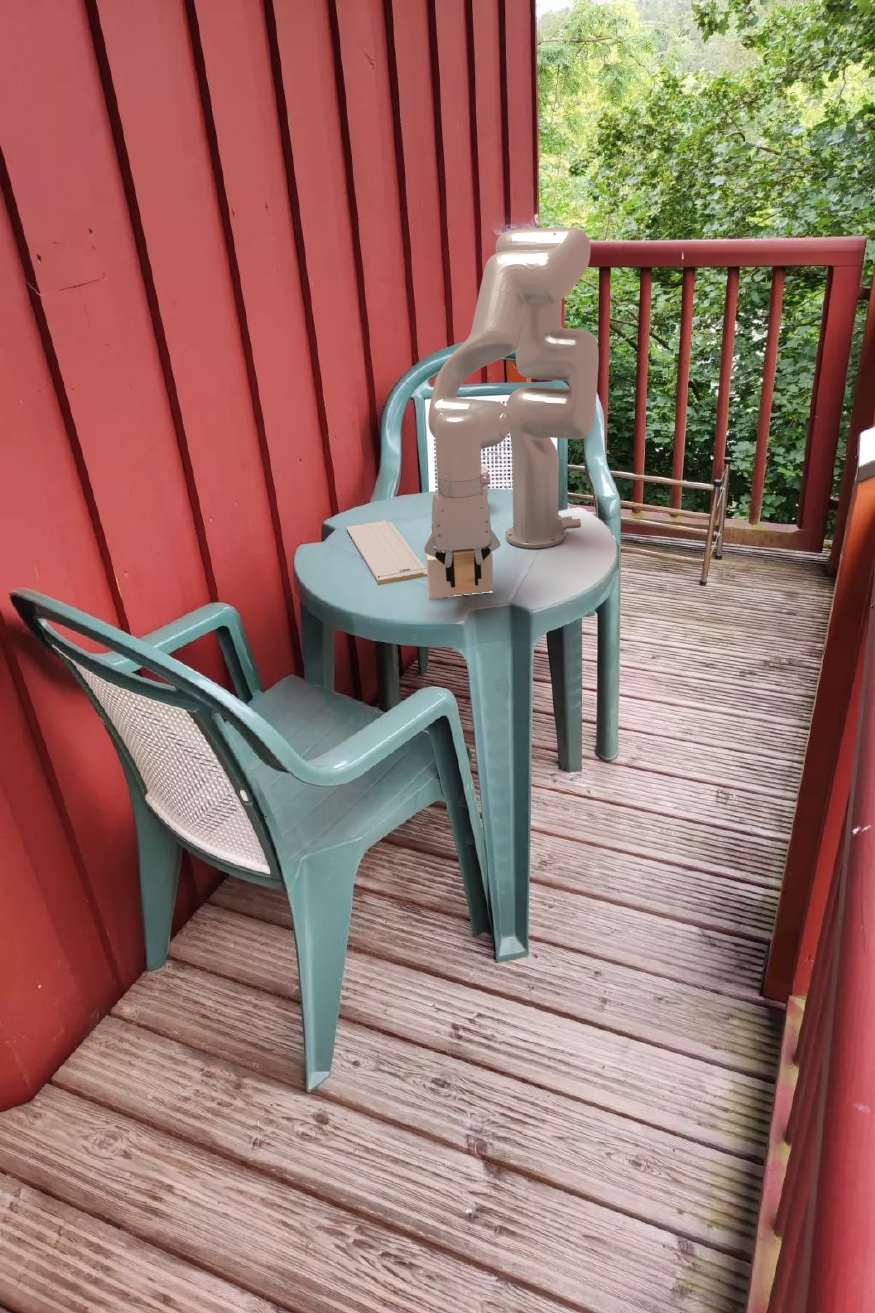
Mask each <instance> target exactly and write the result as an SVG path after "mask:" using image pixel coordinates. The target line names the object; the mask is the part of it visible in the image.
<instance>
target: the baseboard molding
mask: <svg viewBox="0 0 875 1313" xmlns="http://www.w3.org/2000/svg"><path fill="white" fill-rule="evenodd" d="M346 529H347V530H348V532H349V533H348V532H347V533H348V535H349V534H350V535H349V537H350V536H351V537H352V538H351V537H350V538H351V540H352V542H353V541H354V542H353V544H354V545H355V546H356V549H357V550H358V552H359V554H360V555H361V557H362V559H363V561H364V562H365V563H366V565H367V566H368V568H369V570H370V571H371V573H372V575H373V577H374V578H375V580H376V582H377V583H378V585H385V584H390V583H395V582H396V583H397V582H401V581H406V580H407V581H408V580H412V579H419V578H424V577H428V576H427V567H426V565H424V564H423V563H422V561H421V559H419V557H418V556H417V554H416V553H415V552H414V550H413V549H412V547H411V546H410V545H409V544H408V542H407V541H406V539H405V538H404V537H403V535H402V534H401V533H400V531H399V530H398V529H397V527H396V526H395V525H394V524H393V522H392V521H386V520H380V521H374V522H370V523H369V522H366V523H363V524H355V525H349V526H345V530H346ZM347 530H346V531H347Z"/></svg>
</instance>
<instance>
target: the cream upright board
mask: <svg viewBox="0 0 875 1313" xmlns="http://www.w3.org/2000/svg"><path fill="white" fill-rule="evenodd" d="M481 549H482V548H481ZM442 552H443V553H444V551H442ZM425 556H426V557H425V558H426V560H425V561H426V569H427V576H426V577H427V589H428V591H427V592H428V595H429V599H430V600H437V599H444V598H443V597H448V596H454V595H464V594H456V593H455V590H454V588H451V585H450V582H447V581H446V569H445V565H444V564H443V563H441V562H440V561H439V560H438V559H436V558H435V557H433V556H430V555H428V554H426V553H425ZM493 563H494V561H493V551H492V552H491V553H490V554H489V555H488V556H487V557H486V558H485V559H484V560H483V563H482V564H481V579H478V585H477V586H475V593H482V592H489V591H493V592H494V571H493V570H494V565H493ZM467 594H472V593H467ZM448 598H449V597H448Z"/></svg>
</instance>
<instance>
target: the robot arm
mask: <svg viewBox="0 0 875 1313" xmlns="http://www.w3.org/2000/svg"><path fill="white" fill-rule="evenodd" d="M591 249H592V248H591V243H590V239H589V237H588V235H587V233H586V232H585V231H584V230H582V229H580V228H577V227H526V228H524V227H523V228H513V229H510V230H507V231H505V232H503V233H501V234H500V235H499V236H498V237H497V240H496V242H495V254H493V255H491V256H490V257H489V259H488V260H486V264H485V267H484V270H483V275H482V278H481V279H482V280H481V284H480V287H479V292H478V297H477V302H476V305H475V306H476V307H475V312H474V317H473V320H472V325H471V326H472V327H471V331H470V333H469V336H468V337H467V339H465V341H464V342H463V343H462V344H460V345H459V346H458V347H457V348H456V349H455V350H454V351H453V352H452V354H450V356H449V357H448V359H447V360H445V362H444V363H443V365H442V366H441V368H440V370H439V372H438V373H437V375H436V378H435V381H434V384H433V389H432V394H431V398H430V404H429V410H428V416H427V418H428V420H427V422H428V429H429V431H430V433H431V435H432V436H433V437H434V442H435V459H436V475H437V477H436V478H437V490H436V491H434V492H433V495H432V503H431V504H432V505H431V534H430V536H429V537H428V539H427V542H426V543H425V545H424V547H423V551H424V553H425V555H426V554H428V555H430V556H433V557H435V558H436V559H438V560H439V561H440V562H441V563H443V564H444V565H445V569H446V581H447V582H450V585H451V588H454V587H455V573H454V565H453V562H452V555H453V551H458V550H470V549H473V550H474V571H475V586H477V585H478V579H481V564H482V563H483V560H484V559H485V558H486V557H487V556H488V555H489V554H490V553H491V552H492V553H493V552H494V551H496V550H497V549H499V548H500V547H501V545H502V544H501V541H500V540H499V538H498V537H497V536H496V534H495V533H494V531H493V530H492V524H491V514H490V507H489V501H488V500H487V495H486V491H485V489H484V488H483V487H484V485H486V484H488V485H490V484H491V476H490V475H488V476H486V477H485V476H483V474H481V465H482V454H481V452H482V450H483V449H488V448H490V447H495V446H497V445H499V444H501V443H502V442H503V441H504V440H505V439H506V438H507V437H508V435H510V442H511V445H510V446H511V466H512V469H511V470H512V471H511V472H512V476H511V477H512V485H511V486H512V526H511V527H510V528H508V529H507V531H506V532H505V538H506V540H507V542H508V543H509V544H511V545H514V546H516V547H519V548H524V549H544V548H550V547H554V546H557V545H559V544H561V543H563V541H564V540H566V536H567V535H566V531H567V529H580V528H582V522H581V521H582V519H580V518H574V519H573V516H564V517H562V516H560V514H559V502H560V501H559V498H560V497H559V494H560V493H559V492H560V489H559V483H560V482H559V480H560V477H559V476H560V472H559V471H560V457H559V453H558V450H557V447H556V445H555V444H554V441H552V439H564V440H565V439H566V440H582V439H584V438H586V437H588V436H589V435H590V434H591V432H592V430H593V428H594V423H595V420H596V419H595V418H596V408H597V396H598V395H597V394H598V393H597V392H598V391H597V390H598V376H599V375H598V374H599V359H600V358H599V357H600V356H599V355H600V354H599V345H598V341H597V338H596V337H595V335H594V334H593V333H592V332H591V331H590V330H587V329H582V328H566V327H565V328H564V327H563V325H562V309H563V307H562V306H563V301H562V300H563V299H564V298H565V297H566V296H567V295H568V294H569V293H570V292H571V290H573V288H574V287H575V286H576V285H577V283H579V281H580V280H581V279H582V278H583V276H584V275H585V273H586V271H587V269H588V266H589V264H590V260H591ZM514 352H515V366H516V370H517V372H518V373H519V374H520V375H521V377H524V378H526V379H531V380H541V381H543V380H544V381H560V382H567V384H568V385H569V388H568V387H567V388H565V387H554V386H540V385H539V386H537V385H534V386H533V385H532V386H531V385H529V386H522V387H519V388H517V389H515V390H513V392H511V394H510V395H509V396H508V398H507V402H506V405H505V404H504V403H502V402H499V401H495V400H486V399H475V398H462V397H461V398H460V397H459V398H458V397H457V395H458V391H459V390H460V388H461V386H462V385H463V383H464V382H465V381H466V379H467V378H468V377H470V376H471V375H472V374H474V373H475V372H476V371H478V370H480V369H482V368H484V367H486V366H488V365H490V364H493V363H495V362H497V361H499V360H502V359H504V358H506V357H509V356H510V355H512V354H513V353H514ZM481 548H482V549H481ZM442 551H444V553H443V552H442Z"/></svg>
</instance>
